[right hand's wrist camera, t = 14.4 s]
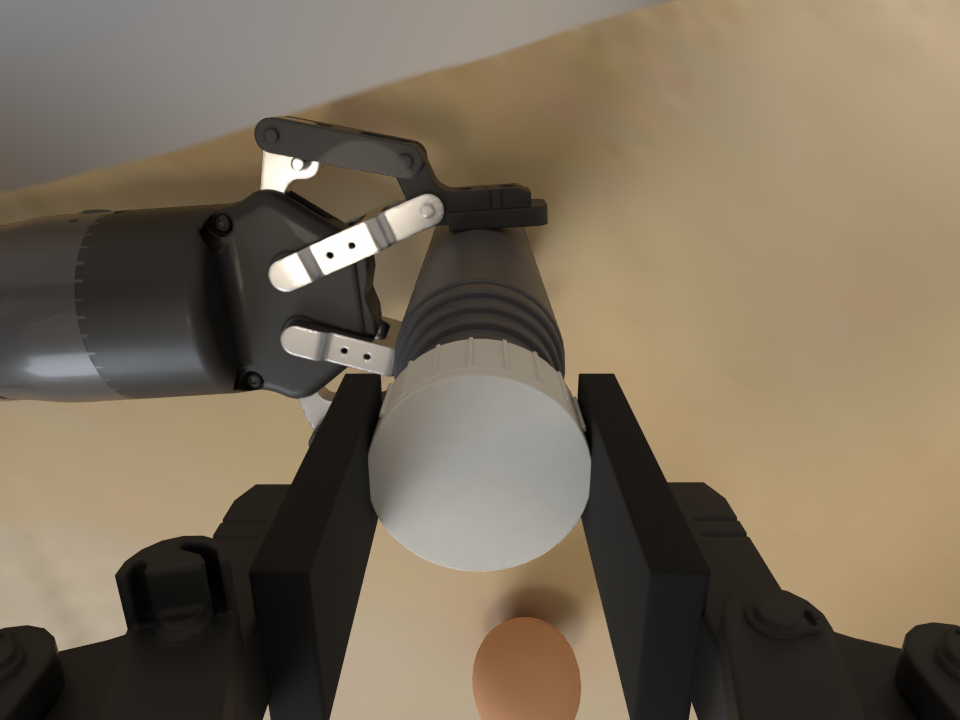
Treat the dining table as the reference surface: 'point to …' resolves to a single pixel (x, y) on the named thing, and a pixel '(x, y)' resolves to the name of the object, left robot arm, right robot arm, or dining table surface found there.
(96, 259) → the left robot arm
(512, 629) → the egg
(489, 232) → the bottle
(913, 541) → the dining table surface
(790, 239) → the dining table surface
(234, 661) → the right robot arm
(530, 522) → the cap
